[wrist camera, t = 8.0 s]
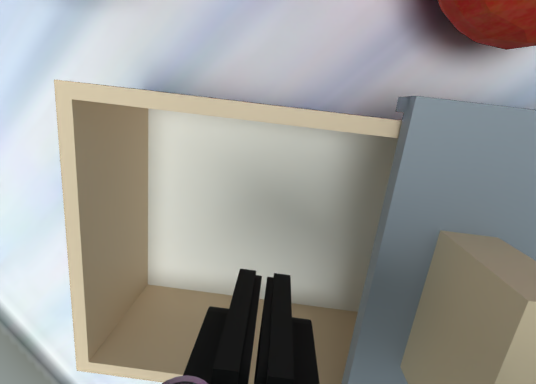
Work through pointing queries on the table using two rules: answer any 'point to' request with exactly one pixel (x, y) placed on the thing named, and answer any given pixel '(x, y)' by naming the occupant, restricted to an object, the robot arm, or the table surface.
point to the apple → (494, 21)
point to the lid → (453, 252)
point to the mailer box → (211, 219)
